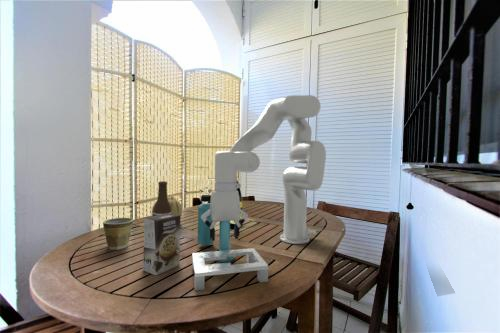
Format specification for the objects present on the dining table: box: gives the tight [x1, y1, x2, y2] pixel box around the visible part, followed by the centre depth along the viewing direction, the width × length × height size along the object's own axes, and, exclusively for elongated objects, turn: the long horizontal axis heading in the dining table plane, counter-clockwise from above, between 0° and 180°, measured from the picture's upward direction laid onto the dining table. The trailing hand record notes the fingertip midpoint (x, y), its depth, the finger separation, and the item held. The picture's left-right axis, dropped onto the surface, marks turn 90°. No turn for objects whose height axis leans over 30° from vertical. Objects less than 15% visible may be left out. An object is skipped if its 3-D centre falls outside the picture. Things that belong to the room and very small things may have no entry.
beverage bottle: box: [197, 194, 215, 246], centre depth 95 cm, size 6×7×20 cm
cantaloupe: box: [150, 195, 183, 218], centre depth 124 cm, size 15×15×15 cm
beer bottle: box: [152, 180, 172, 216], centre depth 105 cm, size 8×8×24 cm
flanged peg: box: [215, 221, 235, 263], centre depth 84 cm, size 7×7×16 cm
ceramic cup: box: [102, 217, 134, 251], centre depth 94 cm, size 13×10×10 cm
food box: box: [142, 213, 182, 276], centre depth 76 cm, size 9×6×16 cm
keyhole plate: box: [191, 247, 269, 291], centre depth 73 cm, size 20×14×4 cm
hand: (224, 238), depth 84 cm, fingers open, 7 cm apart
